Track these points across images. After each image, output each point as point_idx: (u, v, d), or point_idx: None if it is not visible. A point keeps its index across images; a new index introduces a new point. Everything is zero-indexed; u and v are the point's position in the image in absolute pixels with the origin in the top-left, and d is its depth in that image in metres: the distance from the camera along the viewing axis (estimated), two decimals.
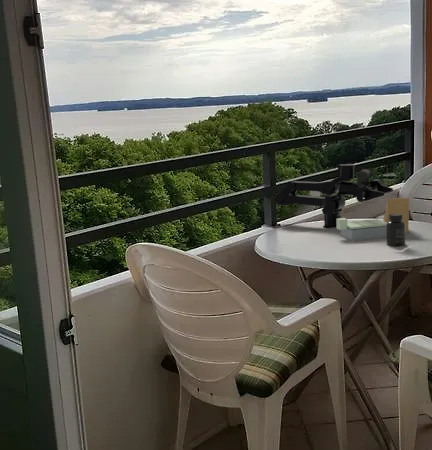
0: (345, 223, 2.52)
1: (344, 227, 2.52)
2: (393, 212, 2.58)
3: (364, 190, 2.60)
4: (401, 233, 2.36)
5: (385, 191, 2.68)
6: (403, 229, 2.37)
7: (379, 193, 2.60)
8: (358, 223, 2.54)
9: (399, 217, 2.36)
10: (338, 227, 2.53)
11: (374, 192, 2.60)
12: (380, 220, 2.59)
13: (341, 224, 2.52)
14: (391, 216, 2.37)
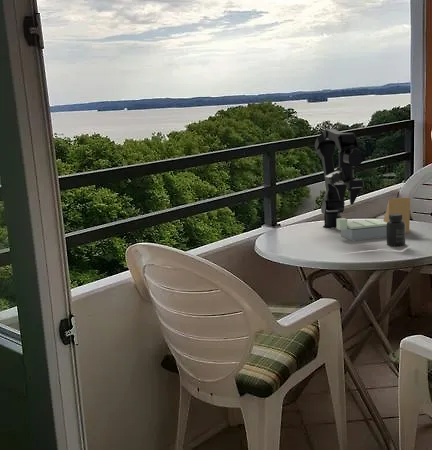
0: (345, 223, 2.52)
1: (344, 227, 2.52)
2: (394, 212, 2.58)
3: None
4: (401, 233, 2.36)
5: None
6: (403, 229, 2.37)
7: None
8: (358, 223, 2.54)
9: (399, 217, 2.36)
10: (338, 227, 2.53)
11: None
12: (380, 220, 2.59)
13: (341, 224, 2.52)
14: (391, 216, 2.37)
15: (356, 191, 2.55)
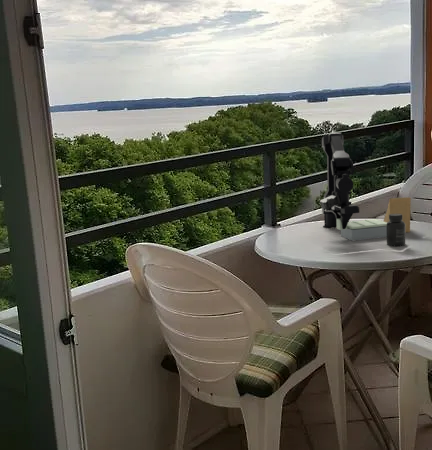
0: None
1: None
2: (395, 212, 2.59)
3: None
4: (401, 233, 2.36)
5: None
6: (403, 229, 2.37)
7: None
8: (358, 223, 2.54)
9: (399, 217, 2.36)
10: (338, 227, 2.53)
11: None
12: (380, 220, 2.59)
13: (341, 224, 2.52)
14: (391, 216, 2.37)
15: (348, 216, 2.50)
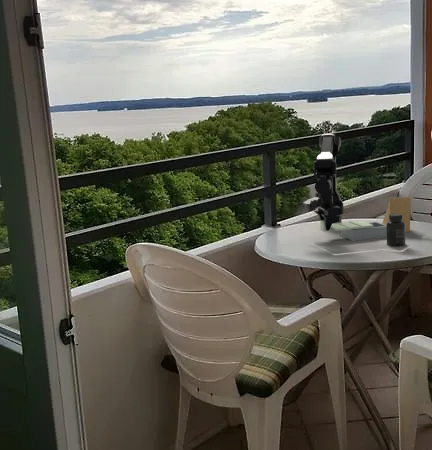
0: None
1: None
2: (395, 211, 2.59)
3: None
4: (401, 233, 2.36)
5: None
6: (403, 229, 2.37)
7: None
8: (342, 225, 2.53)
9: (399, 217, 2.36)
10: (322, 229, 2.51)
11: None
12: (365, 222, 2.58)
13: (325, 226, 2.50)
14: (391, 216, 2.37)
15: (332, 217, 2.48)
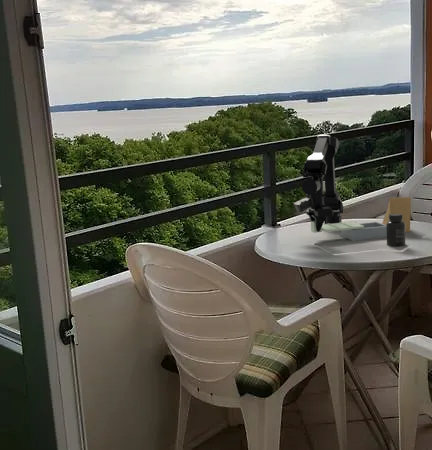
0: None
1: None
2: (395, 211, 2.59)
3: None
4: (401, 233, 2.36)
5: None
6: (403, 229, 2.37)
7: None
8: (333, 226, 2.52)
9: (399, 217, 2.36)
10: (312, 230, 2.50)
11: None
12: (355, 223, 2.57)
13: (315, 227, 2.49)
14: (391, 216, 2.37)
15: (322, 218, 2.47)
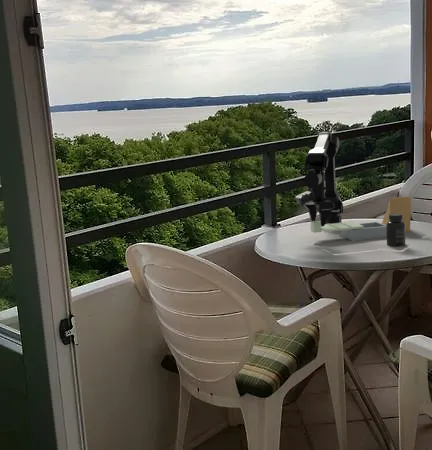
0: (319, 226, 2.49)
1: (318, 230, 2.49)
2: (395, 211, 2.60)
3: None
4: (401, 233, 2.36)
5: None
6: (403, 229, 2.37)
7: None
8: (332, 226, 2.52)
9: (399, 217, 2.36)
10: (312, 230, 2.50)
11: None
12: (355, 223, 2.57)
13: (315, 227, 2.49)
14: (391, 216, 2.37)
15: (327, 213, 2.44)
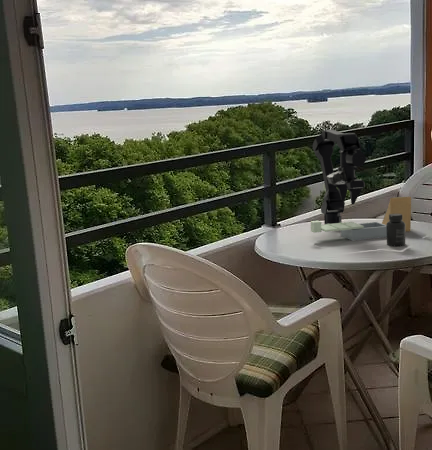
0: (319, 226, 2.49)
1: (318, 230, 2.49)
2: (396, 211, 2.60)
3: None
4: (401, 233, 2.36)
5: None
6: (403, 229, 2.37)
7: None
8: (332, 226, 2.52)
9: (399, 217, 2.36)
10: (312, 230, 2.50)
11: None
12: (355, 223, 2.57)
13: (315, 227, 2.49)
14: (391, 216, 2.37)
15: (357, 191, 2.57)
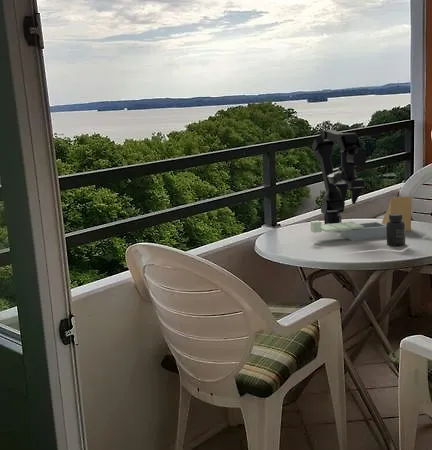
0: (319, 226, 2.49)
1: (318, 230, 2.49)
2: (396, 211, 2.61)
3: None
4: (401, 233, 2.36)
5: None
6: (403, 229, 2.37)
7: None
8: (332, 226, 2.52)
9: (399, 217, 2.36)
10: (312, 230, 2.50)
11: None
12: (355, 223, 2.57)
13: (315, 227, 2.49)
14: (391, 216, 2.37)
15: (358, 191, 2.57)
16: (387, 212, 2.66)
